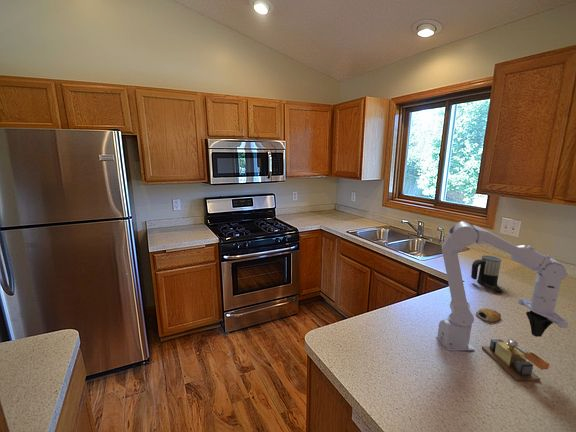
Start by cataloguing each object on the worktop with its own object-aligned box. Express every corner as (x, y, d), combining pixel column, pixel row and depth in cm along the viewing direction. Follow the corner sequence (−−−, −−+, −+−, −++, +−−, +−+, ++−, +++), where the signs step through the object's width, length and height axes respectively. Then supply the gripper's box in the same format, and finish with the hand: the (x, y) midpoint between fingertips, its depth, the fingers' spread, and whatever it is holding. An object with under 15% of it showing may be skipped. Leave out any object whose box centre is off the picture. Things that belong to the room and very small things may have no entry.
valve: (518, 376, 84) (521, 360, 83) (486, 348, 97) (489, 334, 96) (534, 376, 85) (537, 360, 84) (500, 348, 97) (503, 334, 96)
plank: (517, 380, 83) (517, 378, 83) (481, 348, 98) (482, 346, 98) (539, 380, 84) (540, 378, 84) (500, 348, 98) (501, 346, 98)
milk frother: (485, 279, 159) (489, 254, 156) (514, 291, 144) (519, 264, 141) (466, 282, 155) (470, 256, 152) (494, 294, 140) (499, 266, 137)
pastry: (489, 312, 123) (491, 304, 122) (505, 320, 117) (507, 312, 116) (473, 315, 120) (475, 307, 120) (489, 324, 114) (490, 315, 113)
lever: (504, 343, 91) (505, 338, 91) (511, 343, 91) (512, 338, 91) (540, 369, 79) (541, 364, 79) (548, 369, 80) (549, 364, 79)
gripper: (581, 308, 80) (571, 349, 83) (535, 286, 95) (527, 322, 97) (558, 308, 80) (549, 350, 82) (515, 286, 94) (508, 322, 97)
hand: (536, 335), depth 90 cm, fingers closed
